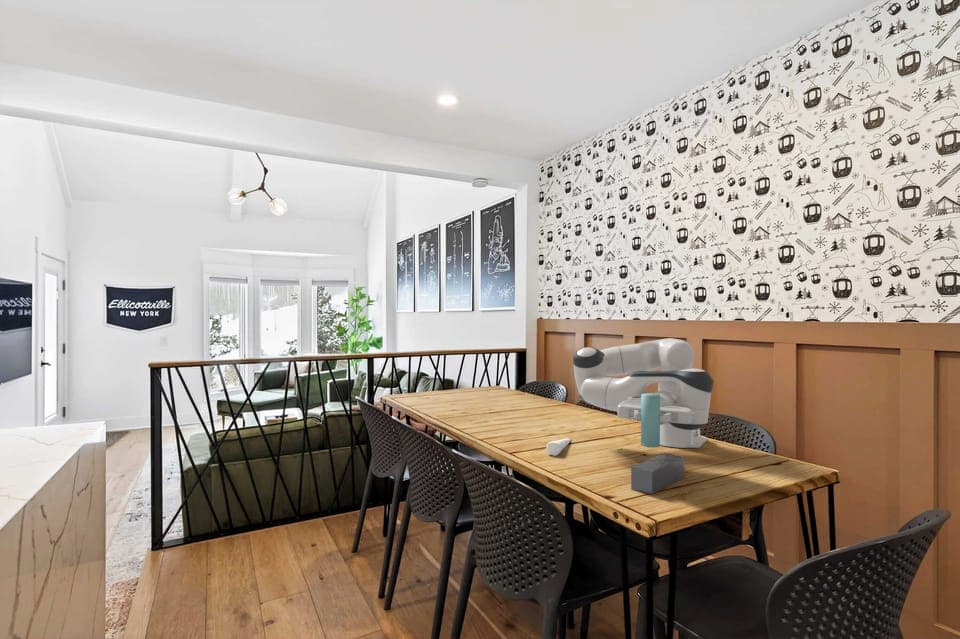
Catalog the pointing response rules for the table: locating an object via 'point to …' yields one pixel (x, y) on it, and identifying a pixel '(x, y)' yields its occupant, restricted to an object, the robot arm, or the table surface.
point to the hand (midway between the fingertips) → (649, 417)
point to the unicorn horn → (556, 446)
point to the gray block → (657, 473)
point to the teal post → (650, 420)
